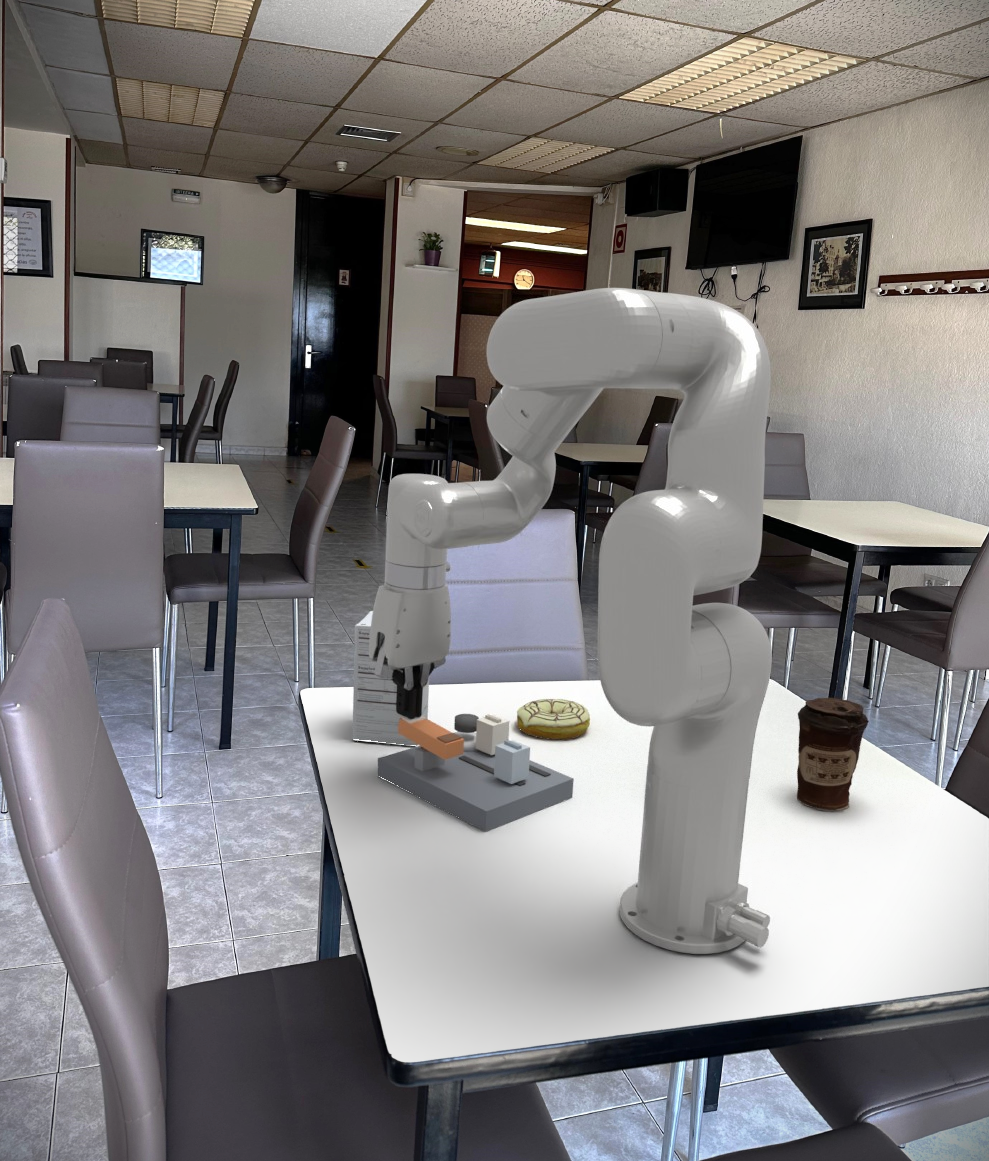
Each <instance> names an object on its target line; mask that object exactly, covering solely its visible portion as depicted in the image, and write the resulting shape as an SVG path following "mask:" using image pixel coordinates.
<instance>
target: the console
mask: <svg viewBox="0 0 989 1161" xmlns="http://www.w3.org/2000/svg"><path fill="white" fill-rule="evenodd" d="M454 733H455V734H457V735H458V736H460V737H462V738H463V739H464V747H463V754H462V755H459V756H455V757H452V758H449V759H446V760H444V759H442V758H440V757H439V756H437V755H435V754H433V753H432V752H430V751H428V750H427V749H425V748H423V747H421V746H420V745H416V747H412V748H407V749H403V750H401V751H398V752H394V753H391V754H388V755H383V756H380V757H377V775H378V776H380V777H382V778H384V779H386V780H388V781H390V782H392V783H394V784H395V785H398V786H399V787H401V788H403V789H405V790H407V791H409V792H411V793H413V794H414V795H413V794H412V795H413V796H415V795H416V796H415V797H417V796H418V797H417V798H419V797H420V798H421V799H420V798H419V799H420V800H422V799H423V801H424V800H426V801H428V802H430V803H431V804H430V803H429V804H430V805H432V804H433V805H432V806H434V805H436V806H437V807H436V806H435V807H436V808H438V807H440V808H441V809H440V808H439V809H440V810H442V809H443V811H444V810H445V811H444V812H446V811H447V812H446V813H448V812H449V813H448V814H450V813H451V815H452V814H453V815H452V816H454V817H456V816H457V817H456V818H458V817H459V818H458V819H460V820H462V821H463V822H465V821H466V823H467V822H468V823H467V824H469V825H471V824H472V825H471V826H473V827H476V828H477V829H480V830H482V831H483V832H489V831H491V830H493V829H496V828H499V827H500V826H503V825H506V824H510V823H511V822H513V821H516V820H519V819H522V818H524V817H527V816H529V815H531V814H534V813H537V812H539V811H541V810H544V809H547V808H548V807H552V806H554V805H557V804H559V803H561V802H564V801H567V800H570V799H572V798H573V794H574V793H573V792H574V779H575V778H574V777H571V776H569V775H567V774H564V773H561V772H559V771H556V770H554V769H552V768H549V767H548V766H544V765H542V764H541V763H538V762H535V761H533V760H529V778H527V779H524V780H521V781H519V782H516V783H513V784H510V783H508V782H505V781H503V780H501V779H499V778H497V777H494V764H495V754H494V755H490V754H487V753H485V752H483V751H480V750H478V749H476V732H473V733H462V732H458V731H456V732H455V731H454ZM395 785H394V786H395ZM399 787H398V788H399ZM401 788H400V789H401ZM403 789H402V790H403ZM405 790H404V791H405ZM407 791H406V792H407ZM409 792H408V793H409ZM411 793H410V794H411ZM426 801H425V802H426ZM428 802H427V803H428Z"/></svg>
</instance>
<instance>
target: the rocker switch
mask: <svg viewBox="0 0 989 1161" xmlns="http://www.w3.org/2000/svg"><path fill="white" fill-rule="evenodd" d="M398 733H399V734H401V735H402V736H404V737H406V738H408V739H409V740H411V741H413V742H415V743H416V744H417V746H421V747H423V748H425V749H427V750H428V751H430V752H432V753H433V754H435V755H437V756H439V757H440V758H442V759H444V760H446V759H449V758H452V757H455V756H459V755H462V754H463V747H464V739H463V738H462V737H460V736H458V735H457V734H455V732H452V731H450V730H448V729H446V728H444V727H443V726H441V725H439V724H438V723H436V722H434V721H432V720H430V719H426V717H424V716H422V715H421V717H415V718H414V719H409V718H407V717H402V718H399V726H398Z"/></svg>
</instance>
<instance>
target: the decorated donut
mask: <svg viewBox="0 0 989 1161" xmlns="http://www.w3.org/2000/svg"><path fill="white" fill-rule="evenodd" d="M590 715H591V714H590V713H589V710H588V709H587V708H586V707H585V706H584V705H583V704H580V703H578V702H575V701H573V700H568V699H563V698H557V699H556V698H543V699H537V700H536V699H535V700H532V701H529V702H527V703H525V704H524V705H522V706H520V707H519V708H518V709H517V711H516V724H517V728H518V730H519V729H521V730H522V731H521V730H520V731H521V732H523V733H524V732H525V734H526V735H528V734H529V735H528V736H533V737H535V736H537V737H542V738H543V739H546V738H549V739H548V740H553V739H554V740H560V739H564V740H567V739H574V738H573V737H575V738H577V737H580V736H582V735H583V734H585V733H586V732H587V730H588V729H589V727H590V723H591V718H590ZM537 737H536V738H537ZM542 738H541V739H542Z"/></svg>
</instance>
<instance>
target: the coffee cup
mask: <svg viewBox="0 0 989 1161" xmlns="http://www.w3.org/2000/svg"><path fill="white" fill-rule="evenodd" d="M797 718H798V723H799V724H798V725H799V729H798V750H797V751H798V757H797V758H798V764H797V768H796V769H797V770H796V777H797V793H796V799H797V801H798V802H800V803H801V804H802V805H804V806H807V807H808V808H809V807H810V808H814V809H815V810H821V811H830V812H831V811H832V812H833V811H842V810H843V811H844V810H846V809H848V808H850V794H851V793H850V789H851V786H852V780H853V777H854V776H853V775H854V773H855V771H856V768H857V764H858V762H859V756H860V750H861V744H862V740H863V734H864V733H865V730H866V728H867V727H868V725H869V721H870V720H868V717H867V715H866V714H864V706H863V705H861V704H860V703H857V702H854V701H850V700H848V699H842V698H835V697H817V698H814V699H807V700H806V701H805V705H804V706H803V707H801V708H800V710H799V711H798V712H797Z"/></svg>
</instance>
